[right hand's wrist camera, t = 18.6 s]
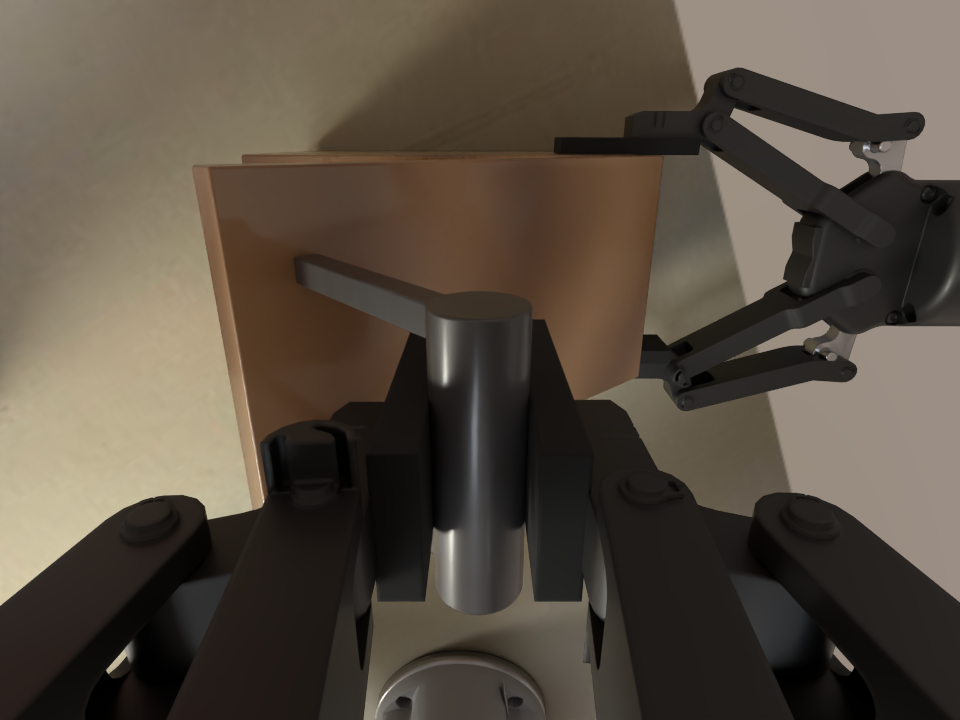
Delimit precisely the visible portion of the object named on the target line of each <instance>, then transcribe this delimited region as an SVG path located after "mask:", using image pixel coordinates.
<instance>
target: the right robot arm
mask: <svg viewBox="0 0 960 720" xmlns="http://www.w3.org/2000/svg"><path fill="white" fill-rule="evenodd" d="M260 450H261V456H262V462H263V468H264V474H265V480H266V486H267V492H268V495H267V497H266V499H265V501H264V504H263V506H262V507H261V508H258V509H256V510H252V511H248V512H244V513H240V514H235V515H230V516H225V517H220V518H215V519H210V520H207V515H206V510H205V506H204V505H203V504H202V503H201V502H200V501H199V500H198V499H196V498H192V497H188V496H184V495H169V496H158V497H155V498H153V497H152V498H149V499H145V500H142V501H140V502H138V503H136V504H133V505H131V506H129V507H126V508H124V509H122V510H121V511H119V512H117V513H116V514H114V515H113V516H111V517H110V518H108V519H107V520H105V521H104V522H103V523H102V524H100V525H99V526H98V527H97V528H95V529H94V530H93V531H92V532H91V533H89V534H88V535H87V536H86V537H84V538H83V539H82V540H81V541H79V542H78V543H77V544H76V545H75V546H73V547H72V548H71V549H70V550H68V551H67V552H66V553H65V554H64V555H62V556H61V557H60V558H59V559H57V560H56V561H55V562H54V563H52V564H51V565H50V566H49V567H48V568H46V569H45V570H44V571H43V572H41V573H40V574H39V575H38V576H36V577H35V578H34V579H33V580H32V581H30V582H29V583H28V584H27V585H25V586H24V587H23V588H22V589H21V590H19V591H18V592H17V593H16V594H14V595H13V596H12V597H11V598H9V599H8V600H7V601H6V602H5V603H3V604H2V605H1V606H0V720H363V718H364V709H365V700H366V690H367V681H368V672H369V663H370V653H371V644H372V635H373V616H372V605H371V597H372V593H373V589H374V585H375V581H376V585H377V597H378V601H425V596H426V588H427V579H428V571H429V563H430V554H431V546H432V537H433V529H434V521H433V493H432V465H431V438H430V410H429V397H428V381H427V353H426V339H425V338H423V337H421V336H418V335H416V334H414V333H411V332H410V334H409V336H408V339H407V342H406V345H405V347H404V350H403V353H402V356H401V358H400V361H399V364H398V366H397V369H396V372H395V375H394V377H393V380H392V383H391V386H390V388H389V391H388V394H387V396H386V399H385V402H349V403H347V404H346V405H344V406H343V407H341V408H340V409H339V410H337V411H336V412H334V413H333V415H332V417H331V419H330V420H310V421H302V422H297V423H294V424H291V425H287V426H284V427H281V428H279V429H278V430H276V431H274V432H272V433H270V434H268V435H267V436H266V437H265V438H264V439H263V441H262V442H261V443H260ZM525 525H526V533H527V542H528V550H529V559H530V567H531V575H532V584H533V592H534V601H582V590H583V579H584V580H585V584H586V589H587V593H588V597H589V605H588V616H587V627H586V637H585V648H584V659H583V663H591V671H592V680H593V689H594V699H595V708H596V717H597V720H960V602H959V601H957V600H956V599H955V598H954V597H952V596H951V595H950V594H949V593H947V592H946V591H945V590H944V589H942V588H941V587H940V586H939V585H938V584H936V583H935V582H934V581H933V580H931V579H930V578H929V577H928V576H926V575H925V574H924V573H923V572H921V571H920V570H919V569H918V568H916V567H915V566H914V565H913V564H911V563H910V562H909V561H908V560H907V559H905V558H904V557H903V556H902V555H900V554H899V553H898V552H897V551H895V550H894V549H893V548H892V547H890V546H889V545H888V544H887V543H885V542H884V541H883V540H882V539H881V538H879V537H878V536H877V535H876V534H874V533H873V532H872V531H871V530H869V529H868V528H867V527H866V526H864V525H863V524H862V523H861V522H859V521H858V520H857V519H856V518H854V517H853V516H852V515H850V514H848V513H847V512H845V511H844V510H842V509H841V508H839V507H837V506H836V505H833V504H831V503H828V502H826V501H823V500H821V499H819V498H817V497H814V496H810V495H805V494H800V493H773V494H769V495H765V496H763V497H762V498H761V499H759V500H758V501H757V502H756V503H755V507H754V512H753V516H752V517H747V516H742V515H737V514H732V513H727V512H722V511H717V510H713V509H709V508H706V507H702V506H700V505H697V503H696V500H695V498H694V496H693V494H692V492H691V491H690V490H689V488H688V487H687V486H686V485H685V483H683V482H682V481H680V480H679V479H677V478H676V477H674V476H672V475H671V474H668V473H665V472H662V471H659V470H658V469H657V467H656V465H655V463H654V461H653V460H652V458H651V456H650V454H649V452H648V450H647V449H646V447H645V445H644V443H643V441H642V439H641V438H639V434H638V432H637V430H636V428H635V427H633V423H632V421H631V419H630V417H629V416H628V414H627V412H626V411H625V410H624V409H622V408H621V407H619V406H618V405H617V404H615V403H614V402H612V401H611V400H574V398H573V395H572V393H571V390H570V387H569V384H568V382H567V379H566V376H565V373H564V371H563V368H562V365H561V362H560V360H559V357H558V354H557V352H556V349H555V346H554V343H553V341H552V338H551V335H550V332H549V330H548V327H547V324H546V321H545V319H532V344H531V371H530V396H529V423H528V451H527V478H526V505H525ZM835 646H836V647H837V648H838V649H839V650H840V651H841V652H842V654H843V655H844V656H845V657H846V658H847V659H848V660H849V661H850V663H851V664H852V665H853V666H854V669H853V671H852V672H851V671H849V670H848V669H847V668H846V667H845V666H844V665H843V664H842V663H841V662H840V661H839V660H838V659H837V658H836V657H835V655H834V654H833V652H834V649H835ZM124 649H125V651H126V654H127V657H126V658H125V659H124V660H123V661H122V662H121V664H120V665H119V666H118V667H117V668H116V669H114V670H113V671H112V672H111V673H110V674H108V673H107V671H106V669H107V668H108V667H109V666H110V665H111V664H112V663H113V661H114V660H115V659H116V658H117V657H118V656H119V655H120V653H121V652H122V651H123V650H124Z"/></svg>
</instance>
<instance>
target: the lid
mask: <svg viewBox="0 0 960 720" xmlns="http://www.w3.org/2000/svg"><path fill="white" fill-rule="evenodd" d="M662 165H663V156H647V155H631V156H585V157H539V158H493V159H447V160H401V161H355V162H310V163H264V164H218V165H194V166H193V167H192V169H193V175H194V181H195V186H196V192H197V198H198V203H199V209H200V215H201V220H202V226H203V231H204V237H205V243H206V248H207V254H208V260H209V265H210V271H211V277H212V282H213V288H214V293H215V299H216V305H217V310H218V316H219V322H220V327H221V333H222V339H223V344H224V350H225V355H226V361H227V367H228V372H229V378H230V384H231V389H232V395H233V401H234V406H235V412H236V417H237V423H238V429H239V434H240V440H241V446H242V451H243V457H244V463H245V468H246V474H247V479H248V485H249V491H250V496H251V502H252V508H253V510H256V509H258V508H261V507H262V506H263V504H264V501H265V499H266V497H267V495H268V492H267V486H266V480H265V474H264V468H263V462H262V456H261V450H260V443H261V442H262V441H263V439H264V438H265V437H266V436H267V435H268V434H270V433H272V432H274V431H276V430H278V429H279V428H281V427H284V426H287V425H291V424H294V423H297V422H302V421H310V420H330V419H331V417H332V415H333V413H334V412H336V411H337V410H339V409H340V408H341V407H343V406H344V405H346V404H347V403H349V402H385V399H386V396H387V394H388V391H389V388H390V386H391V383H392V380H393V377H394V375H395V372H396V369H397V366H398V364H399V361H400V358H401V356H402V353H403V350H404V347H405V345H406V342H407V339H408V336H409V334H410V332H411V333H414V334H416V335H418V336H421V337H423V338H425V339H426V353H427V381H428V397H429V410H430V438H431V465H432V493H433V521H434V529H433V537H432V546H431V553H433V554H434V575H435V588H436V591H437V593H438V595H439V597H440V598H441V599H442V601H443V602H444V603H445V604H447V605H448V606H449V607H451V608H452V609H454V610H456V611H459V612H462V613H466V614H471V615H487V614H492V613H495V612H499V611H501V610H503V609H505V608H506V607H508V606H509V605H511V604H512V603H513V602H514V601H515V600H516V598H517V597H518V596H519V594H520V592H521V589H522V583H523V558H524V531H525V505H526V478H527V451H528V423H529V396H530V371H531V344H532V319H545V321H546V324H547V327H548V330H549V332H550V335H551V338H552V341H553V343H554V346H555V349H556V352H557V354H558V357H559V360H560V362H561V365H562V368H563V371H564V373H565V376H566V379H567V382H568V384H569V387H570V390H571V393H572V395H573V398H574V400H585V399H587V398H590V397H592V396H594V395H597V394H599V393H601V392H603V391H606V390H608V389H610V388H613V387H615V386H617V385H620V384H622V383H624V382H626V381H629V380H631V379H633V378H636V377H638V375H639V366H640V357H641V349H642V340H643V331H644V322H645V314H646V305H647V296H648V288H649V279H650V270H651V261H652V253H653V244H654V235H655V226H656V218H657V209H658V200H659V191H660V183H661V174H662Z"/></svg>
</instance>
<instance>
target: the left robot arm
mask: <svg viewBox="0 0 960 720" xmlns="http://www.w3.org/2000/svg"><path fill="white" fill-rule="evenodd" d="M734 108H736V109H739V110H742V111H745V112H748V113H751V114H754V115H757V116H760V117H763V118H766V119H769V120H772V121H775V122H778V123H781V124H784V125H787V126H790V127H793V128H796V129H799V130H802V131H805V132H808V133H811V134H814V135H817V136H820V137H823V138H826V139H829V140H833V141H841V142H851V143H850V145H849V149H850V150H851V151H852V153H853V155H854V156H855V157H857V158H860V159H864V160H865V161H867V163H868V165H869V172H866V173H864V174H863V175H861V176H860V177H858V178H856V179H855V180H853V181H852V182H850V183H849V184H847V185H846V186H844V187H842V188H841V189H838V188H836V187H834V186H832V185H829V184H827V183H825V182H823V181H821V180H820V179H818V178H817V177H816V176H814V175H813V174H811V173H810V172H808V171H807V170H805V169H804V168H803V167H801V166H800V165H798V164H797V163H795V162H794V161H793V160H791V159H790V158H788V157H787V156H785V155H784V154H782V153H781V152H780V151H778V150H777V149H775V148H774V147H772V146H771V145H769V144H768V143H766V142H765V141H764V140H762V139H761V138H759V137H758V136H756V135H755V134H754V133H752V132H751V131H749V130H748V129H746V128H745V127H743V126H742V125H741V124H739V123H738V122H736V121H735V120H733V119H732V118H730V115H731V113H732V111H733V109H734ZM924 126H925V119H924V117H923V115H922V114H920V113H918V112H907V113H893V114H875V113H872V112H869V111H866V110H863V109H860V108H857V107H854V106H851V105H848V104H846V103H843V102H840V101H837V100H834V99H831V98H828V97H825V96H822V95H819V94H816V93H814V92H811V91H808V90H805V89H802V88H799V87H796V86H793V85H790V84H787V83H784V82H782V81H779V80H776V79H773V78H770V77H767V76H764V75H761V74H758V73H755V72H753V71H750V70H747V69H744V68H734V69H731V70H727V71H724V72H720V73H717V74H714V75H711V76H710V77H709V78H708V79H707V81H706V82H705V85H704V93H703V96H702V98H701V100H700V102H699V103H698V105H697V106H696V107H695V108H694V109H693V110H691V111H643V112H637V113H634V114H632V115H629V116H627V117H625V128H624V138H588V137H560V138H555V141H554V153H557V154H634V155H699V148H700V145H702V146H703V147H705V148H706V149H708V150H709V151H710V152H712V153H713V154H715V155H716V156H718V157H719V158H721V159H722V160H724V161H725V162H727V163H728V164H730V165H731V166H733V167H734V168H736V169H737V170H739V171H740V172H742V173H743V174H745V175H746V176H748V177H749V178H751V179H752V180H754V181H755V182H757V183H758V184H759V185H761V186H762V187H764V188H765V189H767V190H768V191H770V192H771V193H773V194H774V195H776V196H777V197H779V198H780V199H782V201H783V203H785V204H786V205H787V206H789V207H790V208H792V209H793V210H795V211H796V212H798V213H799V214H801V215H802V216H803V217H802V218H801V220H800V222H795V224H794V228H793V233H792V248H793V251H792V254H791V256H790V258H789V260H788V262H787V264H786V267H785V272H784V277H783V279H784V280H786V281H787V282H785V283H783V284H781V285H779V286H777V287H775V288H773V289H771V290H769V291H767V292H766V293H765V294H764V297H763V298H761V299H760V300H758V301H756V302H754V303H752V304H750V305H748V306H746V307H744V308H742V309H740V310H738V311H736V312H734V313H732V314H730V315H728V316H726V317H724V318H722V319H720V320H718V321H716V322H714V323H712V324H710V325H708V326H706V327H704V328H702V329H700V330H698V331H696V332H694V333H692V334H690V335H688V336H686V337H684V338H682V339H680V340H678V341H676V342H674V343H672V344H670V345H668V346H667V345H666V344H665V343H664V342H663V341H662V340H661V339H660V338H659V336H658V335H643V340H642V349H641V357H640V366H639V375H638V377H636V378H658V379H663V381H664V384H663V387H664V389H665V391H666V392H667V393H668V395H669V396H670V398H671V399H672V400H673V402H674V403H675V404H676V406H677V407H678V408H679V409H680V410H683V411H690V410H694V409H698V408H702V407H706V406H710V405H714V404H718V403H722V402H726V401H731V400H735V399H739V398H743V397H747V396H751V395H755V394H759V393H763V392H767V391H771V390H775V389H779V388H783V387H787V386H792V385H796V384H800V383H804V382H808V381H812V380H816V381H831V382H847V381H849V380H851V379H853V378H854V377H855V375H856V373H857V367H856V365H855V364H853V363H852V362H850V361H849V360H848V359H849V356H850V353H851V350H852V347H853V344H854V341H855V338H856V335H857V334H860V333H863V332H866V331H868V330H870V329H872V328H875V327H878V326H960V180H914V179H912V178H910V177H909V176H908V175H907V174H905V173H903V172H901V168H902V163H903V157H904V153H905V148H906V143H907V140H910V139H914V138H915V137H917V136H918V135H919V134H920V133H921V132H922V131H923V128H924ZM820 320H823V321H825V322H826V323H827V324H828V325H830V328H829V330H828V332H827V333H826V334H824V335H823V336H820V337H815V338H808V339H806V340H805V341H804V344H803V345H804V346H787V347H782V348H778V349H774V350H770V351H766V352H762V353H758V354H754V355H750V356H746V357H742V358H738V359H734V360H730V361H726V360H728V359H730V358H732V357H734V356H736V355H739V354H741V353H743V352H745V351H747V350H749V349H751V348H753V347H755V346H757V345H759V344H761V343H763V342H765V341H767V340H770V339H771V338H774V337H776V336H778V335H780V334H782V333H784V332H786V331H788V330H790V329H797V328H798V329H800V328H805V327H807V326H810V325H812V324H814V323H816V322H818V321H820ZM724 361H726V362H724ZM375 720H546V716H545V707H544V701H543V697H542V695H541V692H540V690H539V688H538V687H537V685H536V684H535V682H534V681H533V680H532V679H531V678H530V677H529V676H528V675H527V674H526V673H525V672H524V671H523V670H521V669H520V668H518V667H517V666H515V665H513V664H512V663H510V662H508V661H506V660H503V659H501V658H498V657H495V656H492V655H488V654H484V653H478V652H470V651H451V652H442V653H437V654H432V655H429V656H425V657H422V658H420V659H417V660H415V661H413V662H411V663H409V664H407V665H405V666H404V667H402V668H401V669H400V670H398V671H397V672H396V673H395V674H394V675H393V676H392V677H391V678H390V679H389V680H388V681H387V683H386V684H385V686H384V687H383V689H382V691H381V693H380V696H379V700H378V705H377V710H376V717H375Z"/></svg>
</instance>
